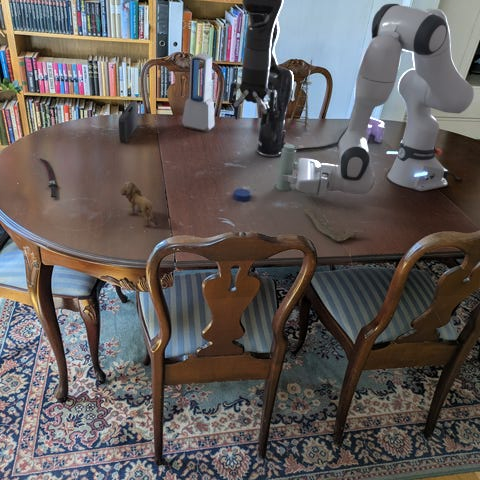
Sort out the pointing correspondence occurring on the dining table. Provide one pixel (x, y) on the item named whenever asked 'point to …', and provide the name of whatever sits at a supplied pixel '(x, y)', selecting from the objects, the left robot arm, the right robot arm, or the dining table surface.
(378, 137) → the lavender notched block
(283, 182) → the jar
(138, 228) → the dining table surface
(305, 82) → the miniature windmill
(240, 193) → the lid
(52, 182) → the sword
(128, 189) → the lion figurine
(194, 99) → the electronic device
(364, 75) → the right robot arm
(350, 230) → the jawbone
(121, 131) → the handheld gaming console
